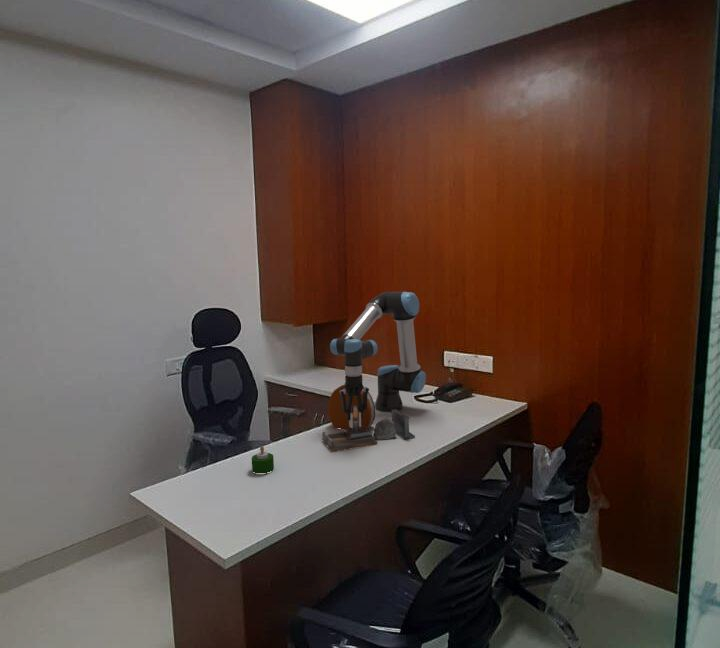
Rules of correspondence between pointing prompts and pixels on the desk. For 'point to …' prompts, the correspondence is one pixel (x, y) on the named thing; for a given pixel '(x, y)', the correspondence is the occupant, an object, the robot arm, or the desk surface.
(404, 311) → the robot arm
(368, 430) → the ram
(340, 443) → the brown shallow box
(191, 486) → the desk surface
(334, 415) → the alarm clock
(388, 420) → the stone
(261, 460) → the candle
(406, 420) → the angle bracket
